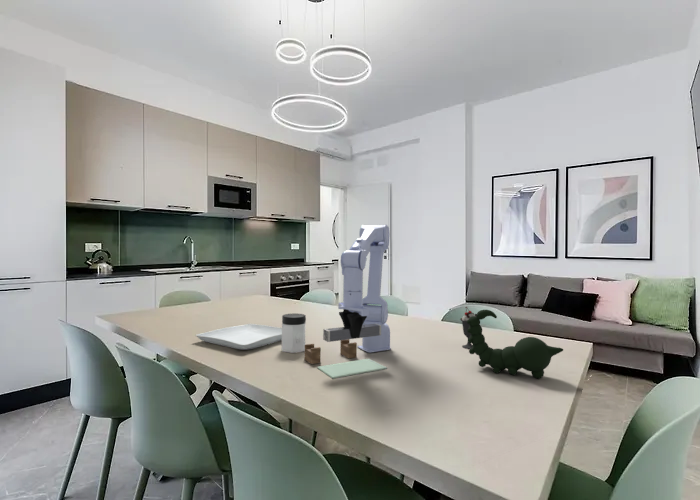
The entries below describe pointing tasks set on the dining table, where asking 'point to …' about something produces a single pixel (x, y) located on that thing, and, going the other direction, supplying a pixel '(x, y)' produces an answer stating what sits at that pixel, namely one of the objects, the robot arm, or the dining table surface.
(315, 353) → the post
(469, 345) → the sundae
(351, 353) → the post
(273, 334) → the square plate
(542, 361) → the toy figurine
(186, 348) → the dining table surface
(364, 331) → the rail
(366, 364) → the mat
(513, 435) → the dining table surface
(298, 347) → the jar
